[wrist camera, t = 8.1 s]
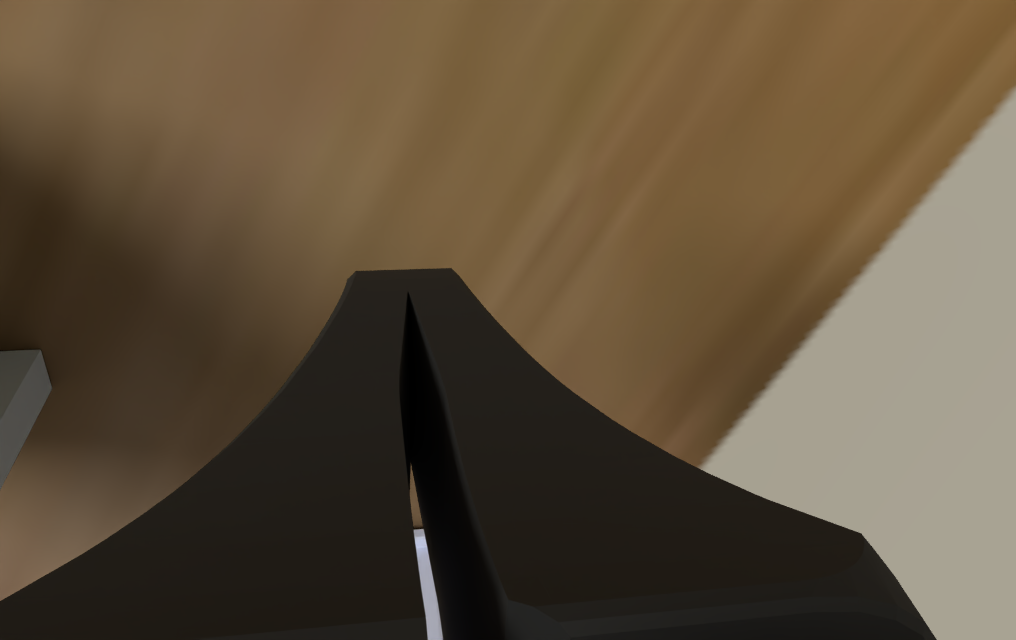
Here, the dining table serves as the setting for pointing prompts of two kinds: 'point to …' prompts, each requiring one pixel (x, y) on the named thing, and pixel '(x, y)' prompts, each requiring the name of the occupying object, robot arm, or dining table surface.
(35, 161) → the dining table surface
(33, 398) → the box
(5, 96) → the dining table surface
